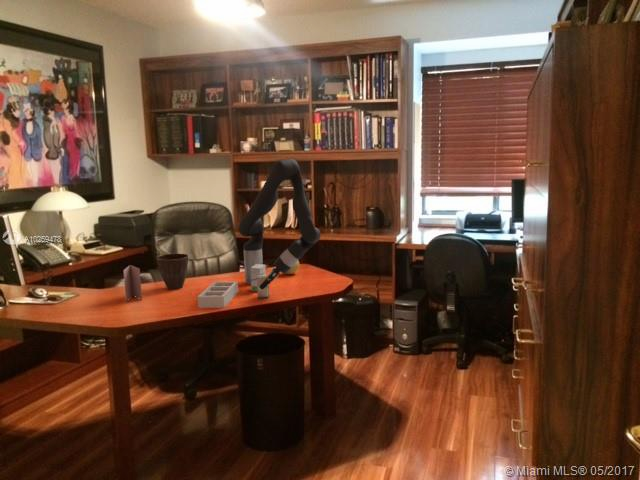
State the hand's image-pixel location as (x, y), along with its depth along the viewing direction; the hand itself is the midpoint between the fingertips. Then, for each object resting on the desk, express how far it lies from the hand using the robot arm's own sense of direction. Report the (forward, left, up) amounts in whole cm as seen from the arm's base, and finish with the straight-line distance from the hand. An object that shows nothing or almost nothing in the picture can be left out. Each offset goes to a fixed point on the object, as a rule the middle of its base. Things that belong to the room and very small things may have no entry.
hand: (262, 285), depth 245 cm
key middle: (+3, -20, -3) cm, 20 cm away
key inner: (-5, -20, -3) cm, 21 cm away
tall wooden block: (0, 0, -5) cm, 5 cm away
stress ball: (-46, +6, -6) cm, 47 cm away
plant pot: (-18, -48, -6) cm, 51 cm away
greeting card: (+1, -60, -6) cm, 60 cm away
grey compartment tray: (+3, -20, -5) cm, 21 cm away
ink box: (-14, -5, -6) cm, 16 cm away
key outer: (+11, -20, -3) cm, 23 cm away
